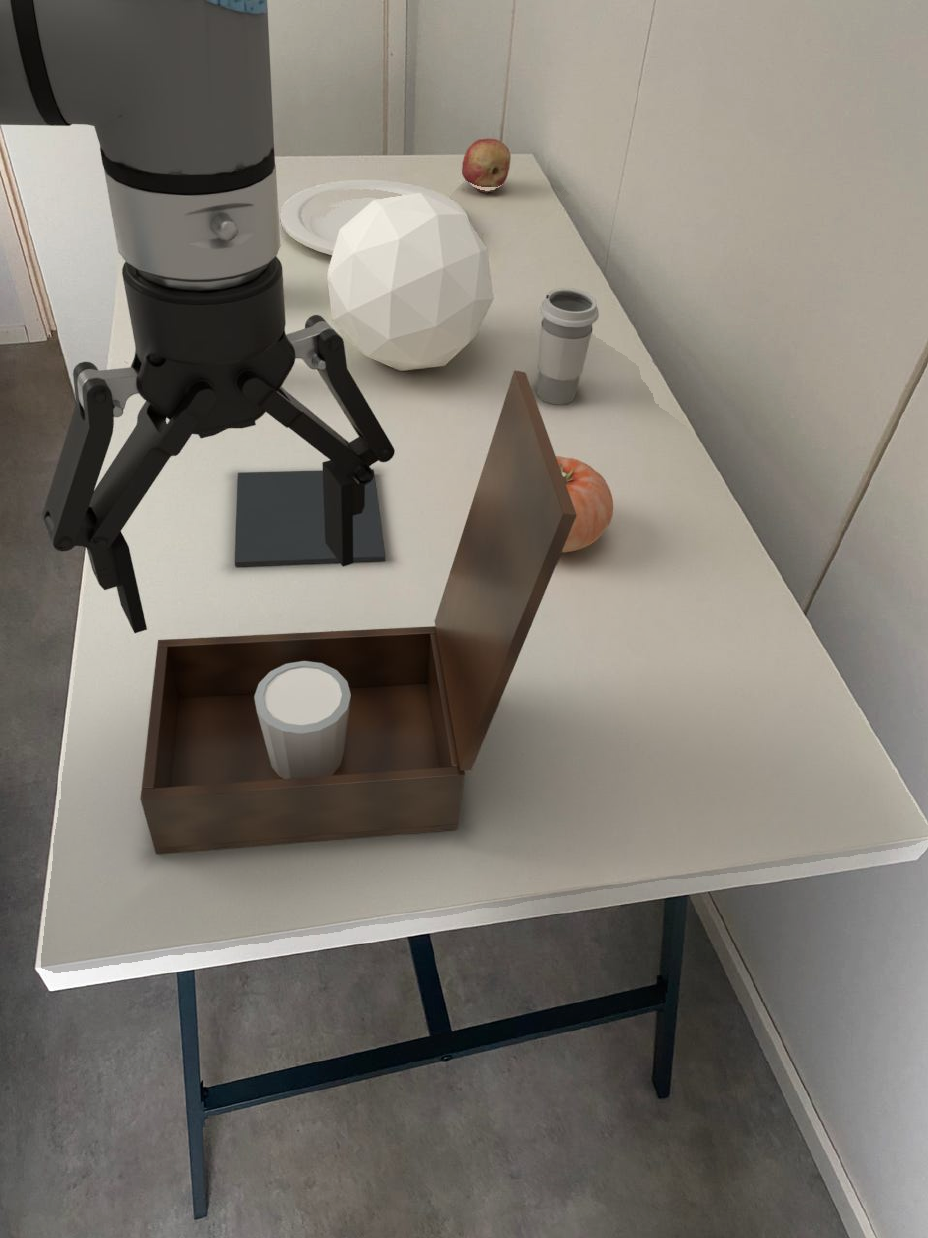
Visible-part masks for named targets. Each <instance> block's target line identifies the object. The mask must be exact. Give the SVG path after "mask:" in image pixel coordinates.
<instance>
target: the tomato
mask: <svg viewBox="0 0 928 1238" xmlns="http://www.w3.org/2000/svg"><path fill="white" fill-rule="evenodd" d="M555 456H556V458H557V461H558V464H559V467H560V470H561V472H562V475H563V478H564V481H565V483H566V486H567V489H568V492H569V495H570V497H571V500H572V503H573V506H574V509H575V511H576V514H577V516H576V519H575V521H574V523H573V526H572V528H571V531H570V533H569V535H568V538H567V540H566V543H565V545H564V548H563V550H562V552H561V553H569V552H574V551H575V552H576V551H579V550H582V549H584V548H586V547H588V546H591V545H592V544H593V543H595V542H596V541H598V540H599V539H600V538H601V537H602V535H604V533H605V531H606V530H607V528H608V527H609V525H610V524H611V521H612V518H613V515H614V500H613V495H612V492H611V489H610V487H609V485H608V482H607V480H606V479H605V477H603V475H602V474H601V473H600V472H598V471H597V470H595V469H594V468H593V467H592V466H590V465H589V464H588V463H586V462H584V461H581V460H579V459H577V458H573V457H564V456H558V455H555Z"/></svg>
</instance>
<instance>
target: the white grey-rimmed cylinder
mask: <svg viewBox="0 0 928 1238" xmlns="http://www.w3.org/2000/svg"><path fill="white" fill-rule="evenodd" d="M350 698H351V694H350V690H349V686H348V683H347V681H346V680H345V679H344V677H343V676H342V675H341V674H340V673H339V672H338V671H337V670H335V669H333V668H331V667H329V666H327V665H325V664H323V663H317V662H309V661H300V662H294V663H288V664H285V665H282V666H280V667H278V668H276V669H274V670H272V671H270V672H269V673H268V674H267V675H266V676H265V677H264V678H263V679H262V681H261V682H260V683H259V684H258V687H257V690H256V693H255V696H254V699H255V704H256V709H257V714H258V717H259V721H260V725H261V729H262V732H263V736H264V740H265V744H266V747H267V751H268V755H269V759H270V762H271V766H272V768H273V769H274V770H275V772H276V773H277V774H278V775H279V777H281V778H283V779H292V778H306V777H320V776H331V775H333V774H334V773H335V771H336V770H337V769H338V768H339V766H340V765H341V762H342V758H343V754H344V746H345V738H346V730H347V722H348V714H349V706H350Z"/></svg>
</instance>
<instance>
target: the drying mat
mask: <svg viewBox="0 0 928 1238" xmlns="http://www.w3.org/2000/svg"><path fill="white" fill-rule="evenodd" d="M371 469H372V470H373V472H374V473H375V469H373V468H371ZM236 482H237V483H236V512H235V540H234V567H235V568H236V567H260V566H261V567H262V566H264V567H265V566H285V565H286V566H289V565H311V564H312V565H313V564H337V563H338V564H341V563H340V562H339V561H338V559H337V558H336V557H335V555H334V554H333V553H332V551H331V550H330V548H329V547H328V546H327V544H326V543H325V522H324V493H323V470H292V471H291V470H289V471H286V470H285V471H284V470H283V471H245V472H244V471H243V472H237V481H236ZM376 483H377V481H376V475H375V474H374V477H373V479H372V481H371V482H370V483H368V484H366V485H365V493H364V494H365V498H364V499H365V506H364V509H363V511H362V513H360V514H357V515H354V516H353V563H366V562H367V563H368V562H385V561H386V551H385V545H384V537H383V529H382V521H381V514H380V506H379V499H378V491H377V484H376Z"/></svg>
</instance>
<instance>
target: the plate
mask: <svg viewBox="0 0 928 1238" xmlns="http://www.w3.org/2000/svg"><path fill="white" fill-rule="evenodd" d="M349 189H354V190H355V189H358V190H359V189H360V190H362V189H370V190H374V189H376V190H382V191H388V192H394V193H398V194H402V195H408V194H415V193H422V194H424V195H426V196H428V197H430V198H432V199H434V200H436V201H439V202H441V203H443V204H445V205H447V206H449V207H451V208H453V209H455V210H457V211H459V212H461V213H463V214H464V215H465V216H466V218H467V219H468V221H469V222H470V219H469V217H468V213H467V212H466V211H465V209H464V207H462V206H461V205H460V204H459V203H458V202H456V201H455V200H453V199H452V198H450V197H448V196H447V195H444V194H442V193H440V192H438V191H435V190H432V189H430V188H426V187H422V186H419V185H416V184H411V183H406V182H401V181H393V180H392V181H391V180H385V179H384V180H383V179H362V178H361V179H345V180H335V181H330V182H324V183H323V182H322V183H319V184H316V185H312V186H309V187H307V188H304V189H301V190H299V191H298V192H296V193H294V194H292V195H291V196H290V197H288V198H287V199H286V200H285V202H283V204H282V206H281V208H280V211H279V213H280V214H279V217H280V224H281V226H282V228H283V230H284V231H285V232H286V234H287V235H288V236H290V237H291V238H292V239H294V240H295V241H296V242H298V243H300V244H301V245H303V246H305V247H307V248H309V249H311V250H314V251H316V252H319V253H321V254H326V255H329V256H332V254H333V251H334V247H335V244H336V241H337V237H338V234H339V230H340V229H341V228H342V227H343V226H344V225H345V224H346V223H348V222H349V221H350V220H351V219H352V218H353V217H355V216H356V215H357V214H358V213H359V212H360V211H361V210H363V209H364V208H365V207H366V206H367V205H368V204H370V203H371V202H372V201H373V200H376V199H375V198H362V199H351V200H352V201H351V200H346V201H344V200H343V201H342V202H341V201H340V202H338V203H337V202H336V204H335V203H332V205H330V204H329V206H328V207H336V208H335V210H334V209H331V210H332V211H329V213H327V215H326V216H325V217H326V218H325V217H321V216H320V218H321V219H320V218H318V217H317V216H315V215H312V216H311V217H310V221H309V223H310V227H311V229H312V231H313V232H314V233H315V234H316V235H315V234H313V233H312V232H310V231H309V230H308V229H307V228H306V227H305V225H304V223H303V221H302V217H301V214H302V209H303V207H305V205H307V203H308V202H309V201H310V200H312V199H313V198H314V197H316V196H317V195H319V194H321V193H325V192H332V191H339V190H340V191H341V190H349ZM337 207H339V208H340V209H339V208H337Z"/></svg>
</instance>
